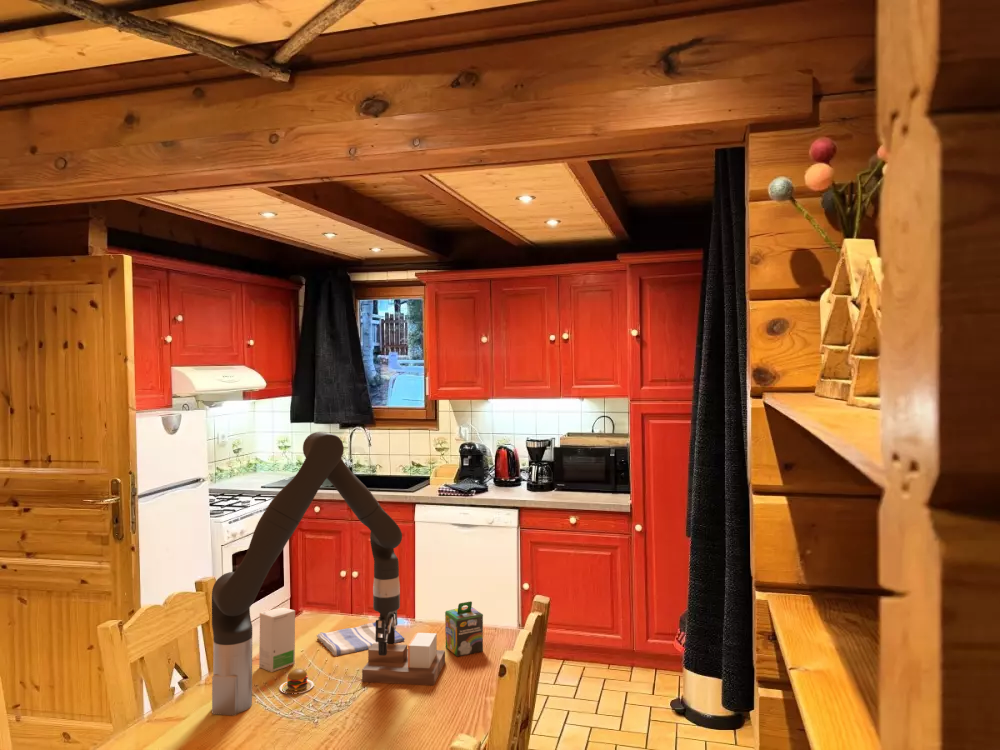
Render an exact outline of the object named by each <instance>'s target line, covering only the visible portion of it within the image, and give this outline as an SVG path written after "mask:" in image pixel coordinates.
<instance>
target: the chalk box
mask: <svg viewBox="0 0 1000 750" xmlns="http://www.w3.org/2000/svg"><path fill="white" fill-rule="evenodd" d="M472 605H473V601H465V602H460V603H458V606H457V608H455V609H449V610H446V611H445V612H444V613H445V615H444V617H445V618H444V621H445V625H444V626H445V648H446V649H448V650H449V652H451V653H452V654H453V655H455V656H456V657H463V656H468V655H472V654H477V653H482V652H484V614H483V613H481V612H480V611H478V610H477V609H475V608H474V607H472Z"/></svg>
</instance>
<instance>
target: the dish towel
mask: <svg viewBox="0 0 1000 750" xmlns="http://www.w3.org/2000/svg"><path fill="white" fill-rule="evenodd" d="M394 631H395V643H394V644H399V643H401V642H404V641H405V640H406V638H405V637H404V636H403V635H402V634H400V632H398V631H396V629H395V630H394ZM316 637H317V639H318V640H319V642H320V643H321V644H322V643H323V644H322V645H323V646H324V647H326V649H327V650H329V652H330V653H331V652H332V653H331V654H332V655H333V656H334V657H336V656H337V657H338V656H342V655H346V654H351V653H357V652H358V653H359V652H363V651H368V650H369V648H370V647H371V646H372V645H373V643H378V642H376V641H375V639H376V621H375V622H369V623H364V624H361V625H358V626H355V627H351V628H350V627H348V628H343V629H338V630H335V631H334V630H333V631H330V632H319V633H318V634H316ZM381 638H382V634H381Z"/></svg>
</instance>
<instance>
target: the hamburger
mask: <svg viewBox="0 0 1000 750" xmlns="http://www.w3.org/2000/svg"><path fill="white" fill-rule="evenodd" d="M286 678H287V681H285V682H283V683H281V685H280V686H279V687H278V689H279V691H280V692H282V693H284V694H286V693H285V692H286V691H284V690H283V691H284V692H283V691H282V687H283V685H284V684H285V683H287V684H286V686H287V688H289V689H290V690H289V689H288V690H289V691H291V690H300V691H299V694H302V693H305V692H308V691H310V690H312V689H313V688H314V685H315V683H314V681H312V680H310V679H308V673H307V671H306V670H305V669H302V668H294V669H292V670H291V671H289V672H288V674H287V677H286ZM307 685H310V687H309V688H308V689H307V690H305V689H306V688H307V687H308V686H307ZM283 688H284V687H283ZM302 690H304V691H302ZM291 693H292V694H291V695H298V694H297V693H298V692H291ZM293 693H294V694H293Z"/></svg>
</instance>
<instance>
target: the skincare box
mask: <svg viewBox="0 0 1000 750" xmlns="http://www.w3.org/2000/svg"><path fill="white" fill-rule="evenodd" d="M258 646H259V655H258V658H259V660H258V665H259V666H258V667H259V668H260V669H262V670H266V671H269V672H270V673H272V672H276V671H279V670H281V669H284V668H287V667H290V666H292V664H293V665H295V664H296V663H295V661H296V659H295V658H296V652H295V651H296V610H294V609H290V608H287V607H278V608H273V609H270V610H265V611H262V612H259V645H258ZM289 665H290V666H289Z"/></svg>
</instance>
